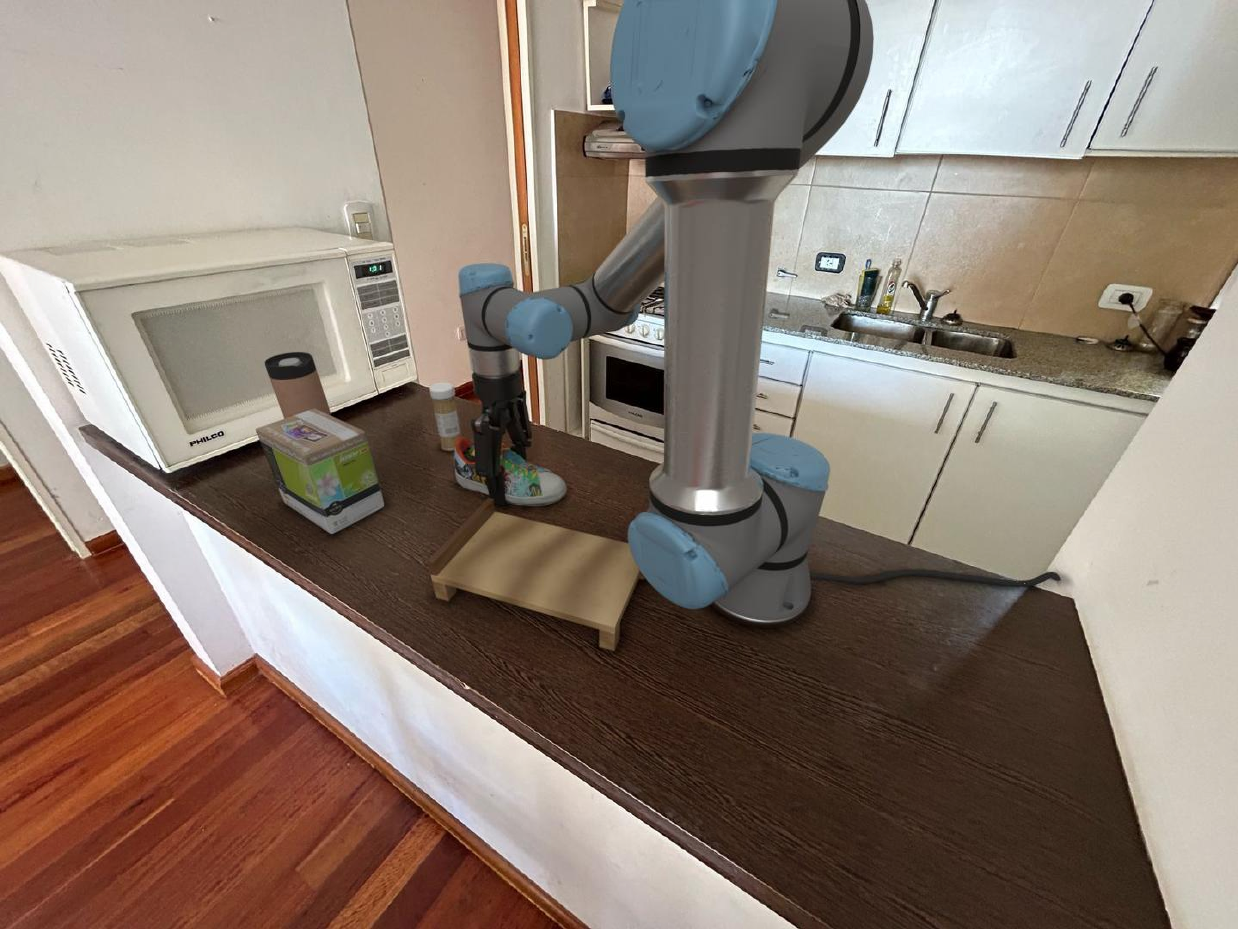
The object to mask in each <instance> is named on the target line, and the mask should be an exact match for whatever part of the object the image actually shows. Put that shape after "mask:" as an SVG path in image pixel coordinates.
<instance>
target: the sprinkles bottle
mask: <svg viewBox="0 0 1238 929" xmlns="http://www.w3.org/2000/svg"><path fill="white" fill-rule="evenodd" d="M428 391H429V397H430V399H431V401H432V406H433V411H434V417H435V422H436V427H437V432H438V436H439V441H440V448H441V450H443V451H446V452H455V441H456V439H458V438H459V437H462V436H463V435H462V428H461V423H460V422H461V420H460V417H459V413H458V406H457V401H456V390H455V385H454V384H453V383H451V382H447V381H442V382H441V381H440V382H436V383H434V384H432V385H430V386H429V390H428Z"/></svg>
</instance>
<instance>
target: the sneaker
mask: <svg viewBox="0 0 1238 929" xmlns="http://www.w3.org/2000/svg"><path fill="white" fill-rule="evenodd" d="M510 448H511V447H510V446H506V444H505V443H504V442H502V446H501V456H500V466H499V471H500V472H502V474H503V482H504V490H505V499H506V504H511V505H515V506H525V507H543V506H548V505H551V504H555V503H557V502H559V501H560V500H562V499H563V498H564V497H566V495H567V493H568V492H567V491H568V488H567V484H566V482H565V481H564V480H563V478H562V477H560V476H559V475H557V474H555V473H553V471H552V470H550V469H547V468H545V467H543V466H540V465H535V464H532V463H530V462H528V460H527V461H525V460H524V459H523V458H522V457H521V456H520V455H517V454H516V453H515V452H513V451H511V449H510ZM453 460H454V473H455V474H454V476H455V479H456V482H457V483H458V484H459V485H460V486H461V487H462V488H464V489H467V490H470V491H475V492H480V493H482V494H485V495H488V496H489V491H488V489H487V483H486V477H481V476H477V475H476V470H475V450H474V442H472V441H470V440H468V438H467V437H466V436H463V435H462V437H459V438H458V439H456V441H455V451H454V455H453Z"/></svg>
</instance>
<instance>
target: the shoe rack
mask: <svg viewBox="0 0 1238 929" xmlns="http://www.w3.org/2000/svg"><path fill="white" fill-rule="evenodd" d="M495 505H496V504H494V499H491V498H489V497H487V498H486V499H485V501H483V502H482V504H480V506H478V508H476V509H475V510H474V512H473V513H472V514H471V515H469V517H468V518H467V519H466V520H465V521H464V522H463V523H462V525H460V526H459V527H458V528H457V530H455V531H454V532H453V533H452V534H451V536H449V538H448V539H447V540H446V541H444V543H443V544H441V546H440V547H439V548H438V549H437V550H436V551H435V552H434V553H433V554H432V555H431V556H430V557H429V558H428V559H427V560H426V561H427V566H428V570H429V574H430V577H431V582H432V586H433V590H434V594H435V598H436V599H439V600H443V601H446V602H449V601H451V599H452V598H453V597H454V596H455V594H456V593H457V589H458V590H462V591H465V592H470V593H472V594H476V595H480V596H483V597H486V598H490V599H492V600H496V601H500V602H504V603H507V604H510V605H514V606H517V607H521V608H524V609H528V610H531V611H535V612H538V613H541V614H545V615H548V616H552V617H555V618H558V619H562V620H566V621H569V622H571V623H572V622H573V623H575V624H579V625H582V626H585V627H590V628H593V629H595V630H599V632H598V633H599V642H598V644H599V648H603V649H606V650H609V651H612V652H615V651H616V649H617V646H618V644H619V642H620V631H621V630H620V629H621V620H622V618H623V616H624V613H625V611H626V609H627V606H628V604H629V603H630V600H631V597H632V595H633V592H634V590H635V588H636V586H637V584H638V581H639V580H643V581H644V580H646V578H645V576H644V575H643V574H642V572H641V571H640V569H639V568H638V566H637V564H636V563H635V561H634V558H633V556H632V554H631V551H630V548H629V543H628V542H624V541H620V540H615V539H611V538H608V537H603V536H599V535H594V534H590V533H586V532H582V531H578V530H573V529H571V528H566V527H562V526H557V525H554V524H549V523H545V522H540V521H536V520H532V519H528V518H523V517H519V516H516V515H511V514H507V513H503V512H498V511H496V506H495Z"/></svg>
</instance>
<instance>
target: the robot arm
mask: <svg viewBox="0 0 1238 929" xmlns="http://www.w3.org/2000/svg"><path fill="white" fill-rule="evenodd" d="M874 38H875V37H874V26H873V19H872V16H871V12H870V10H869V4H868V3H867V1H866V0H623V2H622V5H621V8H620V11H619V14H618V18H617V21H616V25H615V28H614V31H613V37H612V43H611V50H610V51H611V52H610V60H609V85H610V96H611V101H612V105H613V108H614V109H613V110H614V112H615V116H616V118H617V119H618V120H619V121H621V122H622V123H623V124H622V129H623V131H624V132H625V134H626V135H627V137H628V139H631V141H633V142H634V143H635V144H636V145H637V146H639V147H640V148H641V149H643V150H644V166H645V167H644V169H645V170H644V172H645V174H644V175H645V178H644V179H645V180H644V181H645V183H646V184H647V185H648V187H649V188H650V189H651V190H652V192H653V193H655V194H656V195H657V196H656V197H655V199H654V200H653V202H652V203H651V204H650V205H649V206H648V208H647V209H646V210H645V211H644V212H643V214H642V215H641V216H640V217H639V218H638V219H637V221H636V222H635V223H634V224H633V226H632V227H631V228H630V229H629V230H628V232H627V233H626V234H625V235H624V236H623V238H622V239H621V240H620V241H619V243H618V244H617V245H616V246H615V247H614V248H613V250H612V251H611V252H610V253H609V255H607V257H606V258H605V260H603V261H602V263H601V264H600V266H599V267H598V268H597V269H596V270H595V271H594V272H593V273H592V275H591V276H590V277H589V278H588V279H587V280H585V281H584V282H580V283H574V284H569V285H564V286H559V287H553V288H549V289H543V290H537V291H531V292H530V291H529V292H528V291H523V290H520V289H518V288H516V287H514V285H515V282H514V279H513V274H512V271H511V269H510V268H509V267H508V266H507V265H506V264H501V263H494V262H493V263H492V262H490V263H489V262H484V263H472V264H468V265H465V266H463V267H461V268H460V269H459V271H458V274H457V275H458V288H459V294H458V297H459V299H460V305H461V313H462V318H463V324H464V331H465V337H466V343H467V349H468V356H469V357H468V358H469V364H470V370H471V372H472V373H471V380H472V387H473V394H474V396H475V397H476V398H477V399H478V400H479V401H480V402H481V410H480V413H481V415H480V416H479V418H472V419H471V421H470V427H471V429H472V433H473V443H474V450H475V470H476V475H477V476H481V477H486V483H487V489H488V491H489V495H488V498H491V499H494V505H498V506H502V507H505V506H506V504H507V502H506V499H505V490H504V482H503V474H502V472H500V471H499V466H500V456H501V446H502V443H503V436H504V435H505V434H506V432H507V433H508V436H509V439H510V441H511V443H512V445H511V446H510V447H509V448H510V449H511V451H513V452H515V453H516V454H517V455H520V456H521V457H522V458H523V459H524V460H525V461H527V462H528V456H527V448H529V449H530V448H531V447H532V441H530V440H531V439H532V437H533V433H532V427H531V421H530V416H529V411H528V405H527V390H525V389H523V383H522V382H523V381H522V371H521V370H520V368H521V359H520V358H521V357H520V354H522V355H525V356H530V357H531V358H532V357H533V358H536V359H538V360H543V361H544V360H545V361H547V360H552V359H555V358H557V357H559V356H560V354H562V353H563V352H564V351H565V350H567V348H568V347H569V345H570V343H572V342H575V341H579V340H583V339H586V338H591V337H595V336H599V335H603V334H608V333H613V332H618V331H620V330H622V329H623V328H627V327H629V326H631V325H633V324H634V323H635V322H636V321H637V320H638V318H639V317H640V316H639V315H640V312H641V310H642V303H643V302H644V301H645V300H646V299H647V298H648V297H649V296H650V295H651V294H652V293H654V291H656V290H657V289H658V288H659V287H660V286H661V285H662V284H664V285H663V286H664V289H663V290H664V291H663V292H664V293H663V294H664V295H663V296H664V297H663V300H664V301H663V304H664V305H663V306H664V307H663V308H664V311H663V315H664V316H663V321H664V322H663V340H664V341H663V462H662V463H660V464H659V465H657V467H656V468H654V470H653V471H651V474H650V476H649V479H648V480H649V482H648V485H649V486H648V487H649V489H648V490H649V494H648V496H649V497H648V498H649V499H648V501H649V505H648V509H647V510H646V511H643V512H640V513H638V514H637V515H636V516H635V518H634V519H633V520H632V521H631V522H630V524H629V526H628V529H627V543H629V548H630V551H631V554H632V556H633V558H634V561H635V563H636V564H637V566H638V568H639V569H640V571H641V572H642V574H643V575H644V576H645V580H646V581H647V582H648V583H649V584H650V586H651V587H653V589H655V591H656V592H658V593H659V594H660V595H661V596H662V597H664V598H665V599H666V600H668V601H669V602H671V603H673V604H674V605H676V606H678V607H681V608H684V609H689V610H698V609H703V608H706V607H709V605H710V606H711V607H712V608H713V609H714V610H715V611H716V612H717V613H719V614H721V615H722V616H723V617H724V618H726V619H728V620H730V621H732V622H735V623H737V624H739V625H742V626H746V627H750V628H756V629H778V628H783V627H787V626H788V625H792V624H794V623H795V622H797V621H798V620H799V619H801V617H803V615H804V614H805V612H806V611H807V609H808V606H809V603H810V599H811V595H812V582H811V580H817V581H819V580H820V581H829V582H838V583H844V584H850V585H851V584H852V585H866V584H868V585H869V584H875V583H879V582H883V581H888V580H891V579H895V578H901V577H930V578H940V579H946V580H947V579H948V580H955V581H962V582H964V581H965V582H972V583H981V584H988V585H994V586H995V585H996V586H1002V587H1012V588H1013V587H1014V588H1027V587H1034V586H1038V585H1040V584H1043V583H1045V582H1046V581H1048V580H1050V579H1052V580H1054V581H1057V582H1060V581H1061V580H1062V578H1061V576H1060V575H1059V573H1057V572H1055V571H1047V572H1044V573H1041V574H1040V575H1038V576H1035V577H1034V578H1031V579H1023V580H1021V579H1020V580H1017V579H1016V581H1013V580H1014V579H1005V578H1004V579H1003V578H997V577H996V578H995V577H989V576H982V575H975V574H965V573H964V574H963V573H957V572H956V573H955V572H947V571H941V570H940V571H939V570H932V569H931V570H930V569H900V570H893V571H890V572H889V571H888V572H885V573H881V574H877V575H872V576H866V577H865V576H864V577H854V576H853V577H852V576H846V575H840V574H832V573H824V572H823V573H822V572H812V571H811V572H810V568H809V562H808V561H809V560H808V555H809V554H808V553H809V550H810V546H811V543H812V540H813V536H814V533H815V529H816V526H817V523H818V519H819V515H820V513H821V510H822V506H823V502H824V499H825V495H826V492H827V491H828V489H829V484H828V483H829V478H830V473H831V464H830V462H829V461H828V459H827V458H826V457H825V455H824V454H823V453H822V452H821V451H820V450H818V449H817V448H815V447H814V446H813V445H810V444H809V443H807V442H804V441H802V440H799V439H797V438H794V437H790V436H787V435H782V434H777V433H770V432H754V426H755V418H756V417H755V416H756V405H757V395H758V394H757V393H758V385H759V376H760V375H759V373H760V362H761V353H762V342H763V332H764V331H763V330H764V322H765V310H766V302H767V301H766V300H767V299H766V298H767V289H768V279H769V268H770V257H771V248H772V247H771V246H772V236H773V227H774V214H775V204H776V202H777V200H778V198H779V196H780V195H781V194H782V193H783V192H784V191H785V190H786V188H788V187H789V185H790V184H791V183H793V181H794V180H795V179H796V178H797V177H798V176H799V173H800V169H801V168H803V167H804V166H805V165H806V164H807V163H808V162H809V161H810V160H811V159H812V158H813V157H814V156H815V155H816V154H817V153H818V152H819V151H820V150H821V149H822V148H823V147H825V146H826V144H827V143H828V142H829V141H830V140H831V139H832V138H833V137H834V136H835V135H836V134H837V133H838V132H839V130H840V129H841V128H842V127H843V126H844V124H845V123H846V121H847V120H848V119H849V117H850V116H851V115H852V112H853V111H854V110H855V108H856V106H857V104H858V102H859V101H860V99H861V96H862V94H863V92H864V89H865V86H866V84H867V82H868V79H869V76H870V72H871V67H872V62H873V58H874V57H873V56H874ZM1017 581H1018V582H1017ZM1024 583H1025V584H1024Z"/></svg>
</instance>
